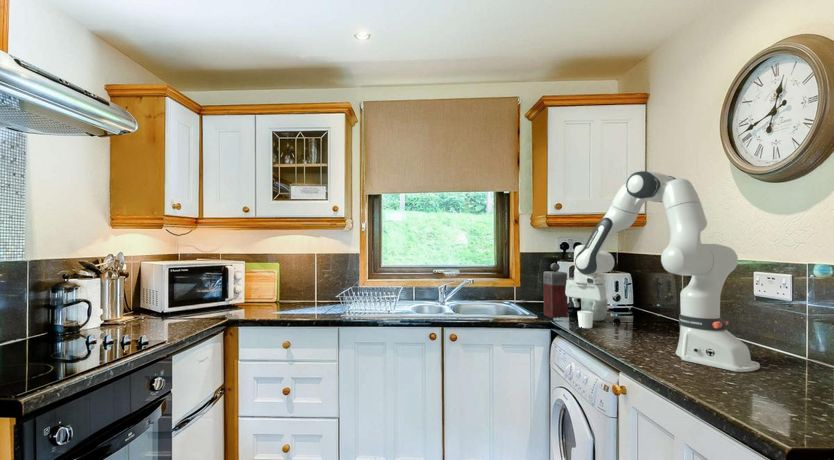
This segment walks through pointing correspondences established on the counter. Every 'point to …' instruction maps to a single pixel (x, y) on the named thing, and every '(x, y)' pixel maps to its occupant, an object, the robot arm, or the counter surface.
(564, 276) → the red decanter
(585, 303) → the planter
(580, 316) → the shot glass
